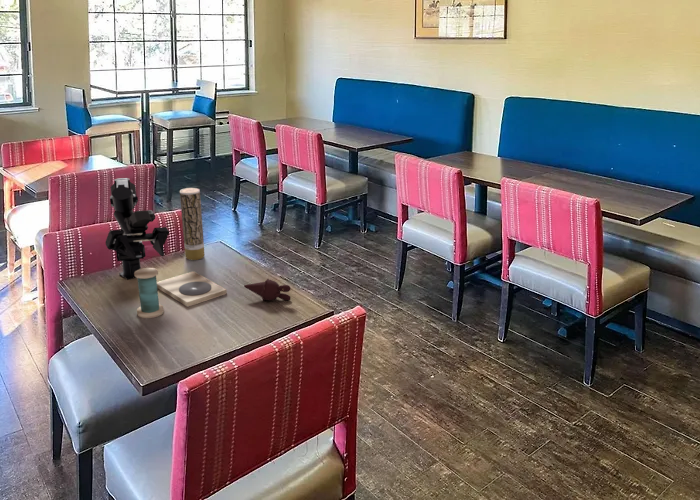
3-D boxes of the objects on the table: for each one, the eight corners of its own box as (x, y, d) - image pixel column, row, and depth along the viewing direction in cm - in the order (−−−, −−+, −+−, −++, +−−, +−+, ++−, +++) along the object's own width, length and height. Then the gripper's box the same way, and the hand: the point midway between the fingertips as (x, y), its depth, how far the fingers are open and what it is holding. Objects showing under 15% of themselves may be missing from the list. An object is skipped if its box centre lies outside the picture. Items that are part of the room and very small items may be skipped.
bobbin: (132, 312, 192) (127, 271, 187) (156, 304, 197) (151, 265, 192) (144, 320, 187) (140, 279, 182) (168, 312, 192) (164, 272, 187)
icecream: (239, 284, 196) (287, 292, 194) (247, 269, 202) (293, 277, 200) (240, 301, 200) (287, 310, 198) (248, 287, 206) (294, 294, 204)
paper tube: (200, 261, 230) (194, 193, 221) (182, 260, 231) (176, 192, 222) (207, 254, 236) (202, 188, 227) (190, 253, 237) (184, 187, 228)
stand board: (155, 286, 209) (154, 281, 208) (193, 275, 218) (193, 270, 217) (187, 306, 196) (187, 301, 195) (226, 293, 205) (226, 288, 204)
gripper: (106, 203, 190) (127, 239, 182) (163, 201, 203) (185, 235, 196) (96, 231, 195) (116, 267, 188) (153, 227, 209) (173, 261, 201)
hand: (149, 256), depth 193 cm, fingers open, 9 cm apart
